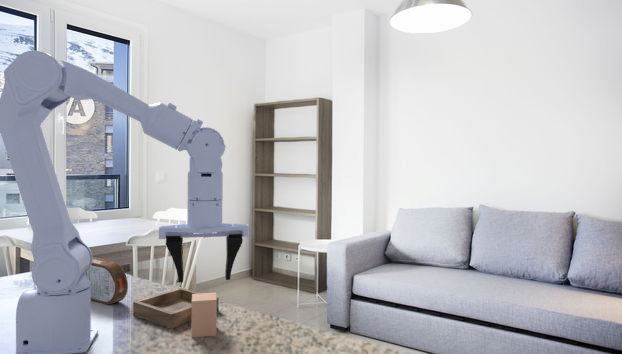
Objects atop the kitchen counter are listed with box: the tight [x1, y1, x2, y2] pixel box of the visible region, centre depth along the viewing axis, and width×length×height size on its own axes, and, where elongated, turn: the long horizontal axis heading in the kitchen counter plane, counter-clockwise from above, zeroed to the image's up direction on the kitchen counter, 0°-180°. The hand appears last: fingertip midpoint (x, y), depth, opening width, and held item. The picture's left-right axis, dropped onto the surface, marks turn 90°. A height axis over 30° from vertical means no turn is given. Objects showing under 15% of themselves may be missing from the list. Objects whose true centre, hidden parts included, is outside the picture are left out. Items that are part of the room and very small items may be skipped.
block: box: [190, 292, 218, 338], centre depth 72 cm, size 4×4×6 cm
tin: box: [85, 256, 129, 305], centre depth 87 cm, size 15×3×8 cm, turn 61°
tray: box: [132, 287, 220, 330], centre depth 80 cm, size 11×11×2 cm
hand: (204, 279), depth 71 cm, fingers open, 7 cm apart
